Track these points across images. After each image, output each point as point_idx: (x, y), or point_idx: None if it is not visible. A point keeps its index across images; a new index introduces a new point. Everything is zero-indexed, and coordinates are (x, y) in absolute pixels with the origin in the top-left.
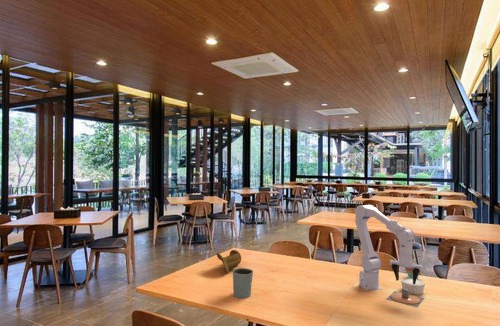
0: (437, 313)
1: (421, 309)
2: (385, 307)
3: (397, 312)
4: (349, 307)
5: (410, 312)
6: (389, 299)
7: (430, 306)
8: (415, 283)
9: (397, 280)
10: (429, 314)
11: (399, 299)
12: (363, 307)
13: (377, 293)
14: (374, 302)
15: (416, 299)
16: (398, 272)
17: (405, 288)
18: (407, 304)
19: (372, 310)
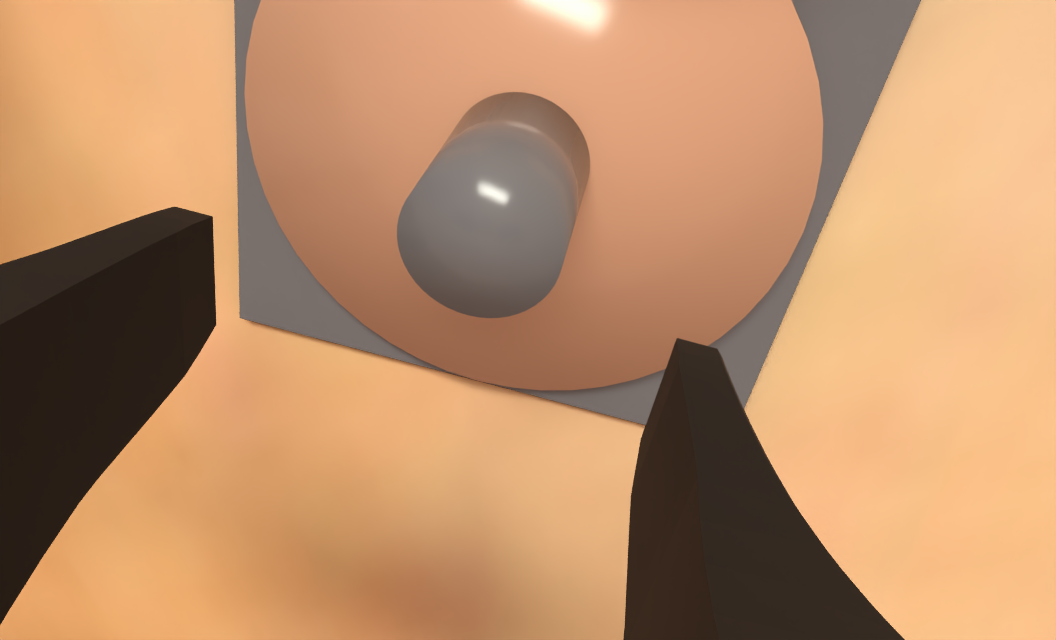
0: (1018, 512)
1: (786, 456)
2: (321, 538)
3: (475, 616)
4: (29, 632)
5: (623, 580)
6: (289, 306)
7: (985, 285)
8: (720, 360)
9: (209, 334)
10: (876, 570)
11: (434, 305)
12: (128, 600)
13: (15, 54)
14: (156, 445)
15: (742, 168)
16: (43, 340)
17: (475, 183)
18: (576, 395)
19: (231, 636)
